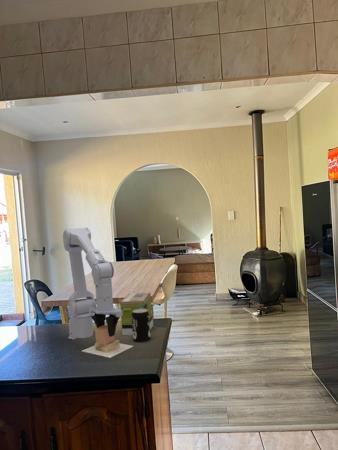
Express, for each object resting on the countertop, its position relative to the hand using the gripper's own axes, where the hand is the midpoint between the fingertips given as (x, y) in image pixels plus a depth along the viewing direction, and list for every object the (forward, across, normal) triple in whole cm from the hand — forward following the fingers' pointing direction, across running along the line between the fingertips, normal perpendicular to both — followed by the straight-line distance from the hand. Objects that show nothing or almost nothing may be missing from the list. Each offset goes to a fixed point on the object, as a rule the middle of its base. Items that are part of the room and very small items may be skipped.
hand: (106, 334), depth 130 cm
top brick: (+2, 0, -1) cm, 2 cm away
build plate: (+6, 0, 0) cm, 6 cm away
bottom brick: (+5, 0, 0) cm, 5 cm away
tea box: (+6, -4, +22) cm, 24 cm away
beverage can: (+6, +5, +13) cm, 15 cm away
